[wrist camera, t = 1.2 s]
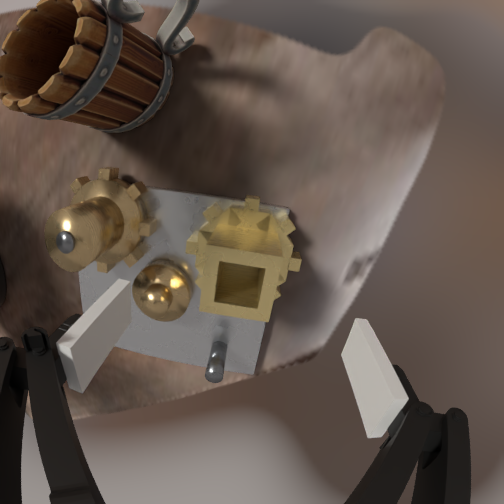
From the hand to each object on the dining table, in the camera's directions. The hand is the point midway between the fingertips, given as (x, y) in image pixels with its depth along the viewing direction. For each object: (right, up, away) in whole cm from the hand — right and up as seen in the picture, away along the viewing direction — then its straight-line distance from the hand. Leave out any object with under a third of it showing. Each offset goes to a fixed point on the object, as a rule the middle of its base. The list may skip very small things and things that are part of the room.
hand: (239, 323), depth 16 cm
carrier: (-8, +1, +15) cm, 17 cm away
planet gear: (0, +4, +12) cm, 13 cm away
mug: (-10, +22, +8) cm, 25 cm away
